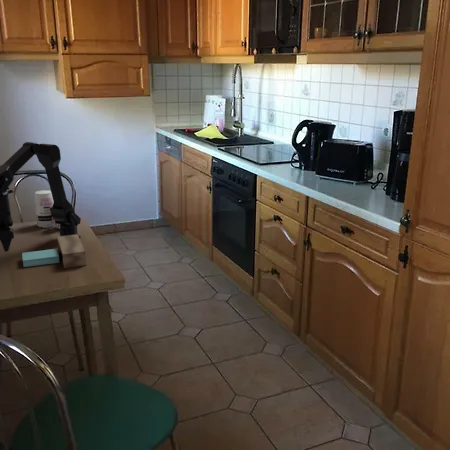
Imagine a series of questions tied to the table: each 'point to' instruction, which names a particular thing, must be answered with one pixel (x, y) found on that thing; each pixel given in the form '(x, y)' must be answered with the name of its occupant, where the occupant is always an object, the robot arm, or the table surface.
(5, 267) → the table surface
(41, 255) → the teal rectangular block
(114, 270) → the table surface
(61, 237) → the block
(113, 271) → the table surface
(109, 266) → the table surface
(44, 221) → the supplement can
